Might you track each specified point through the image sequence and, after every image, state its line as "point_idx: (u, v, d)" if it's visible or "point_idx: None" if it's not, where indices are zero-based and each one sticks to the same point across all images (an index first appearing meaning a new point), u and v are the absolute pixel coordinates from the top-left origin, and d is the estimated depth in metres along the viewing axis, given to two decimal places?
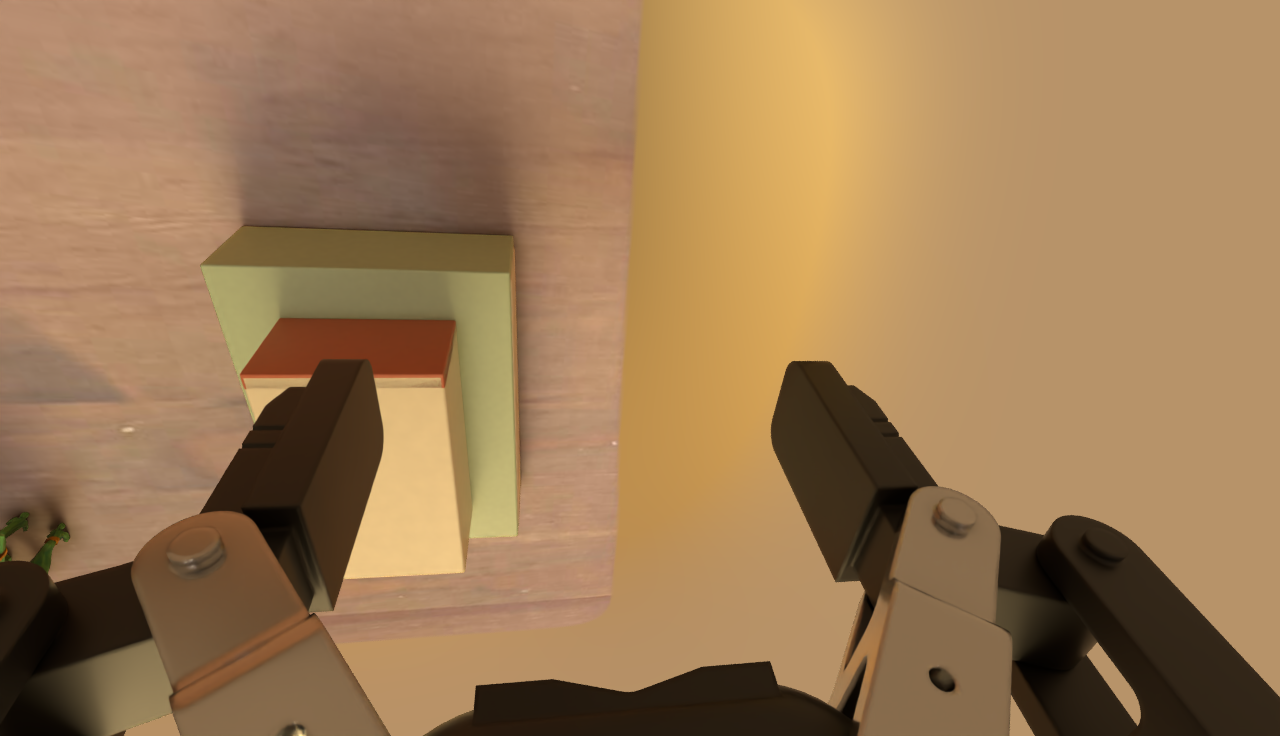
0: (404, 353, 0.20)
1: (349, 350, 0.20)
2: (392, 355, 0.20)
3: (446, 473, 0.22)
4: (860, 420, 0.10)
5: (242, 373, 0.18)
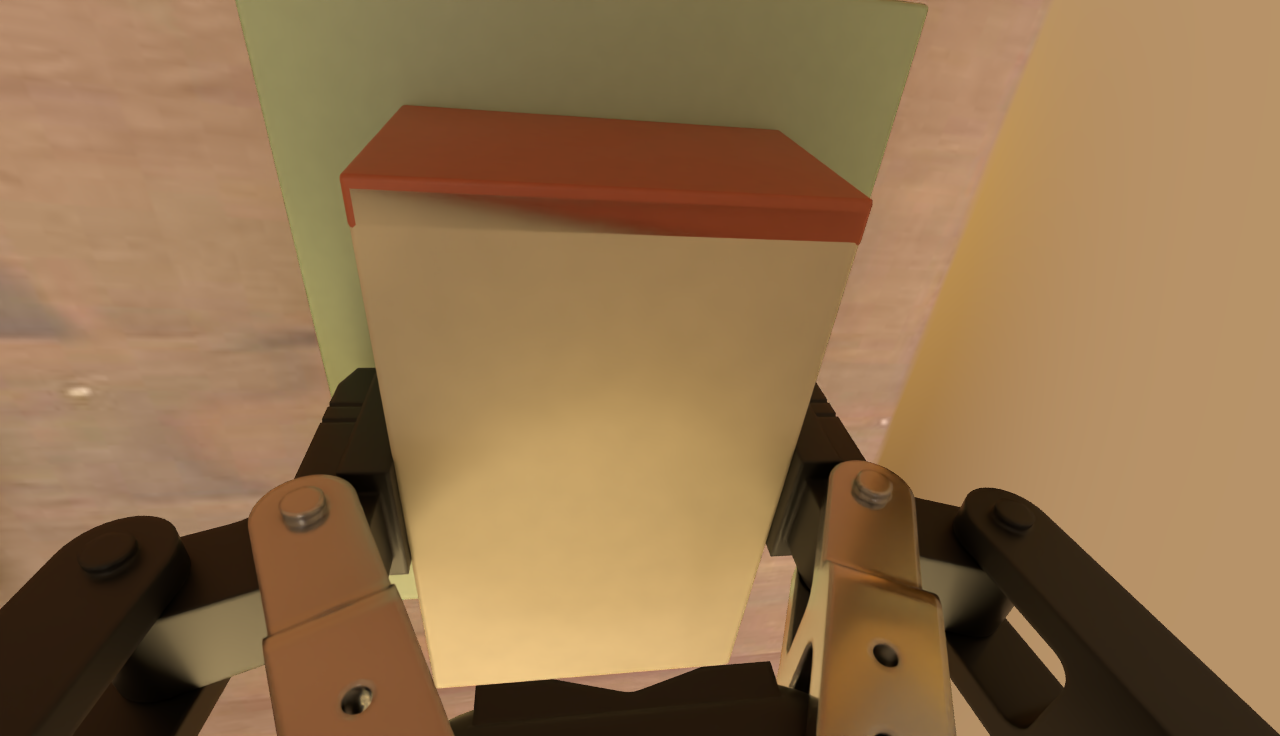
0: (736, 164, 0.08)
1: (601, 153, 0.08)
2: (708, 167, 0.08)
3: (775, 470, 0.10)
4: None
5: (347, 172, 0.06)
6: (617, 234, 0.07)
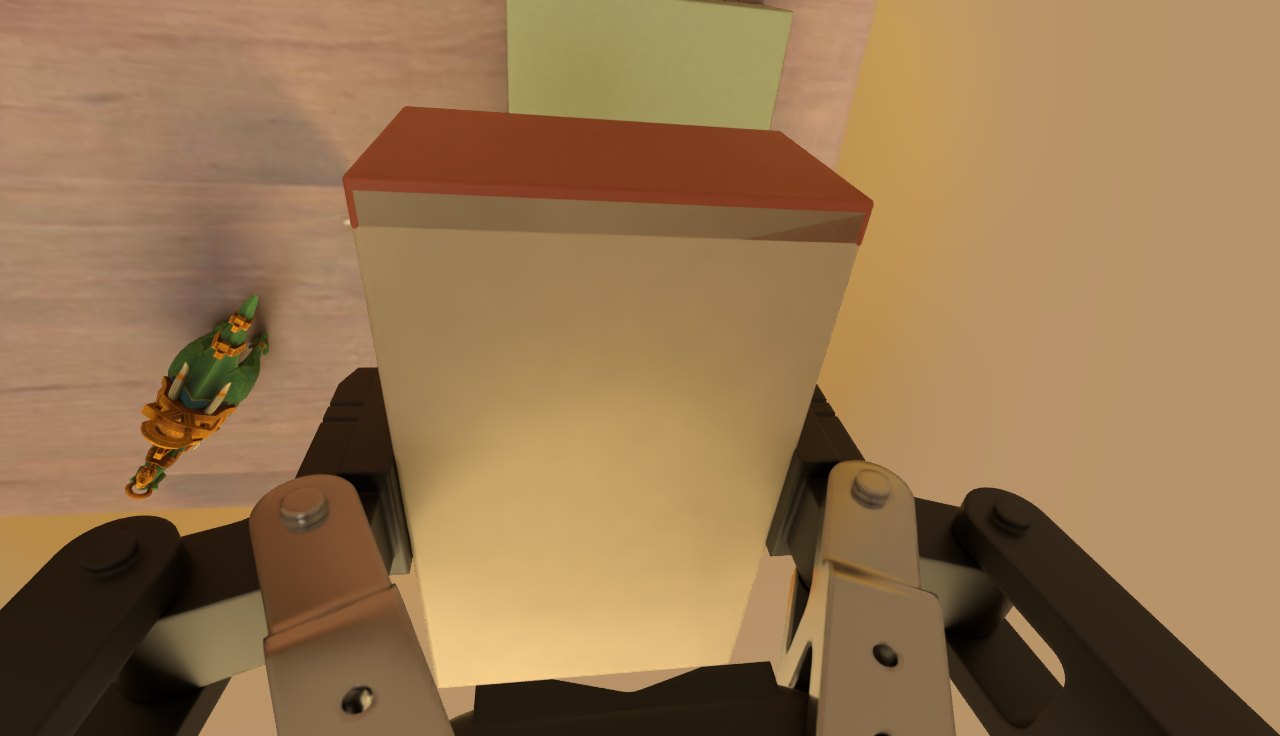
0: (737, 165, 0.08)
1: (603, 154, 0.08)
2: (709, 169, 0.08)
3: (776, 470, 0.10)
4: None
5: (350, 174, 0.06)
6: (619, 236, 0.07)
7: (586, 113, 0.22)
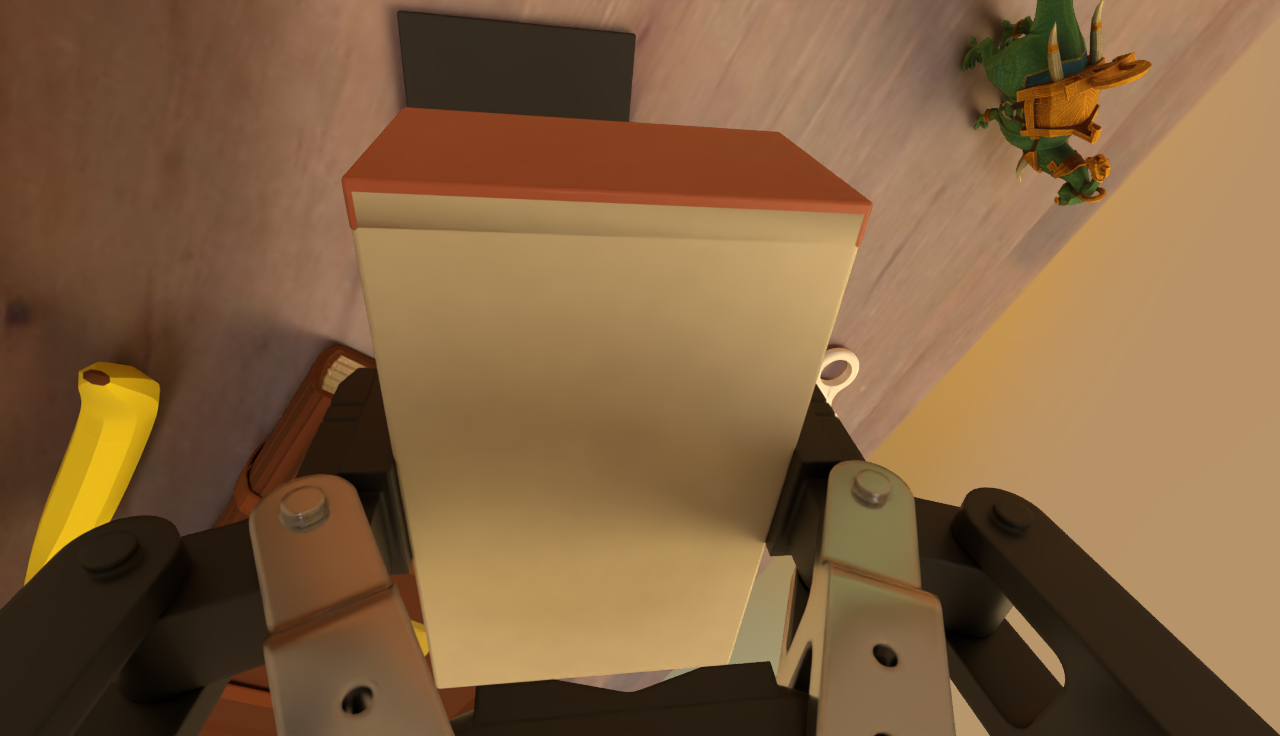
0: (736, 166, 0.08)
1: (602, 155, 0.08)
2: (708, 170, 0.08)
3: (775, 471, 0.10)
4: None
5: (349, 175, 0.06)
6: (617, 238, 0.07)
7: None
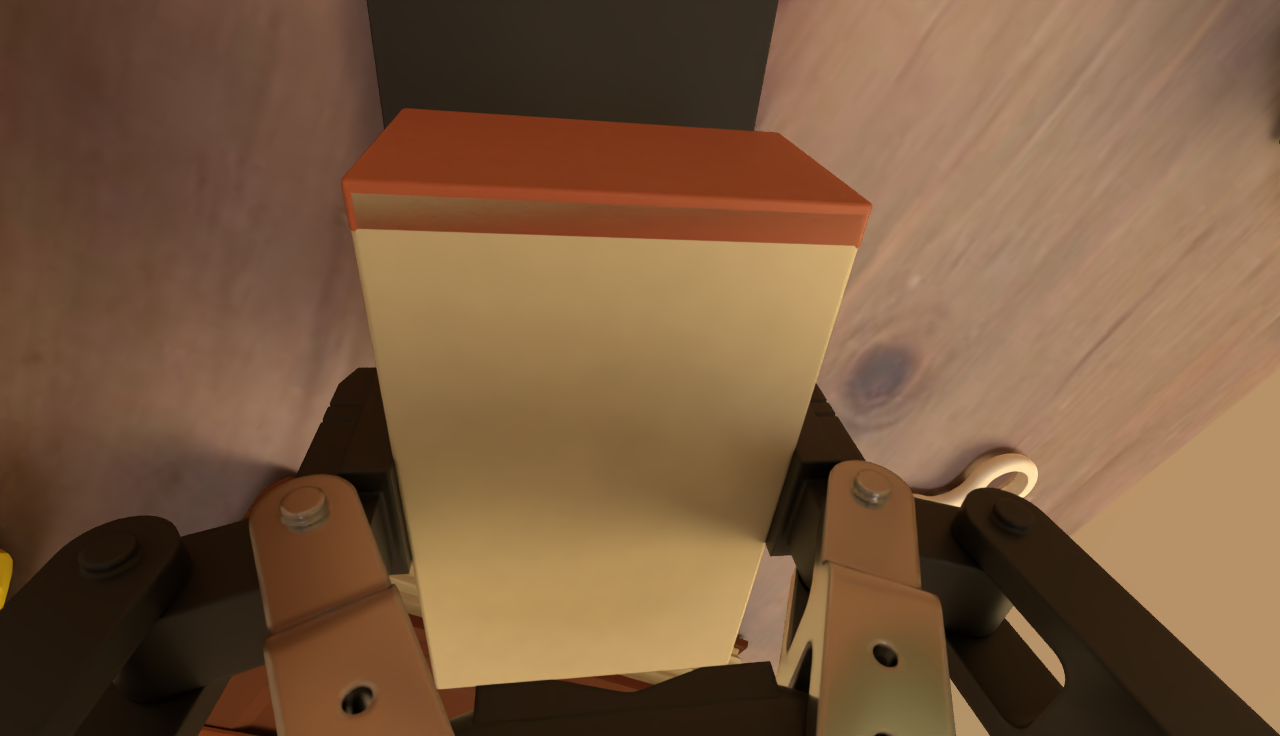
0: (736, 167, 0.08)
1: (602, 156, 0.08)
2: (708, 170, 0.08)
3: (774, 471, 0.10)
4: None
5: (349, 177, 0.06)
6: (617, 238, 0.07)
7: None
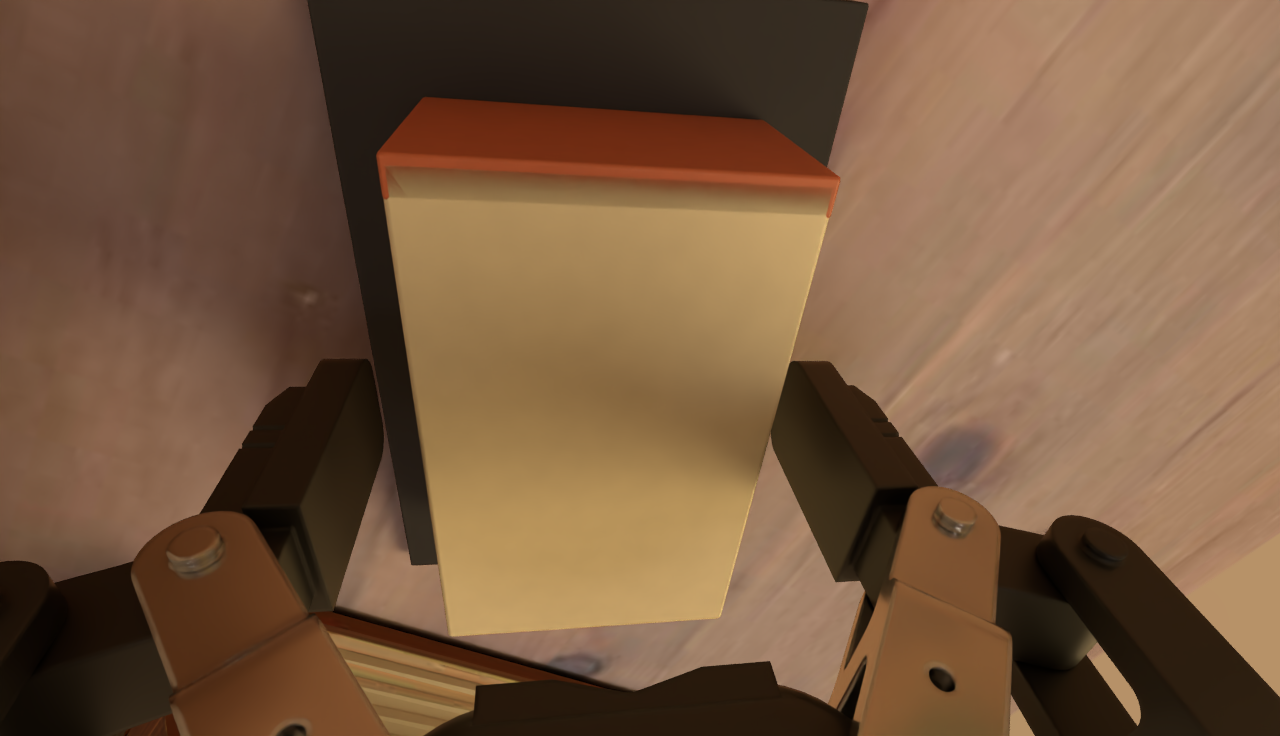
0: (721, 147, 0.09)
1: (602, 137, 0.09)
2: (696, 150, 0.09)
3: (759, 426, 0.11)
4: (860, 420, 0.10)
5: (383, 150, 0.07)
6: (615, 207, 0.08)
7: None
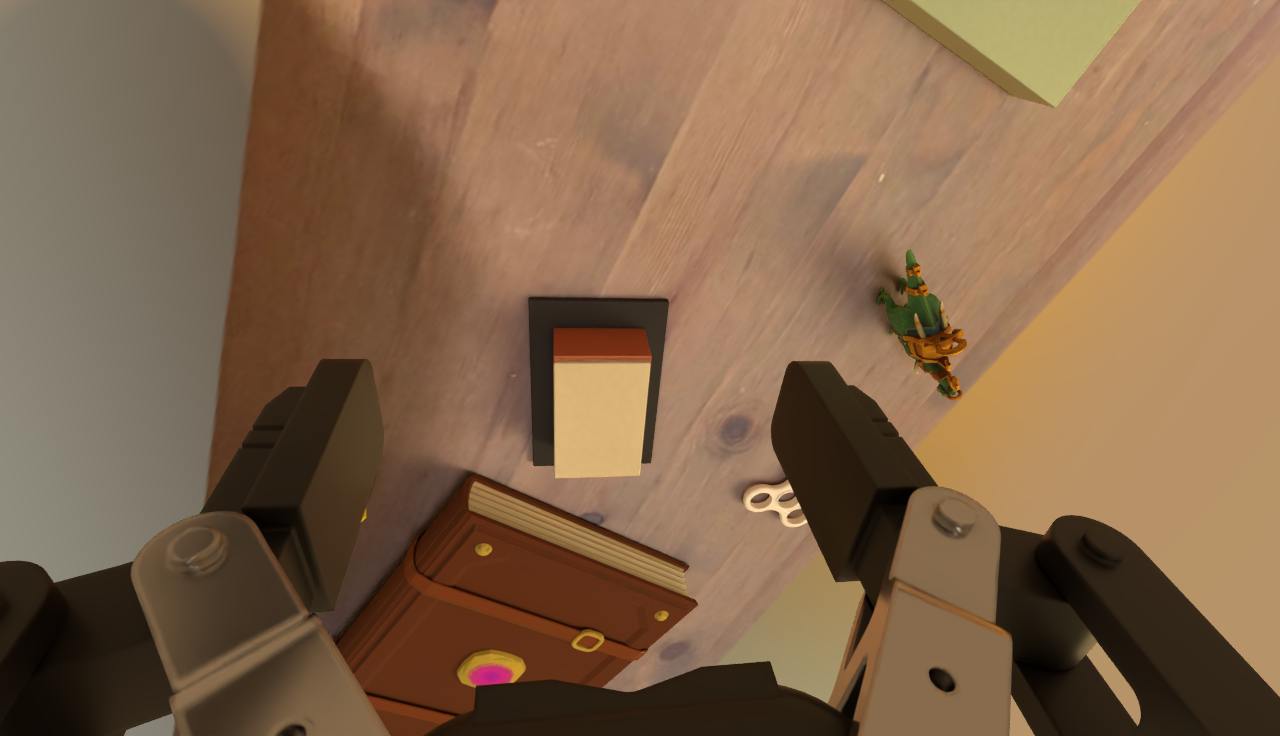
0: (627, 345, 0.38)
1: (599, 344, 0.38)
2: (621, 346, 0.38)
3: (642, 412, 0.39)
4: (860, 420, 0.10)
5: (554, 355, 0.36)
6: (601, 363, 0.37)
7: None
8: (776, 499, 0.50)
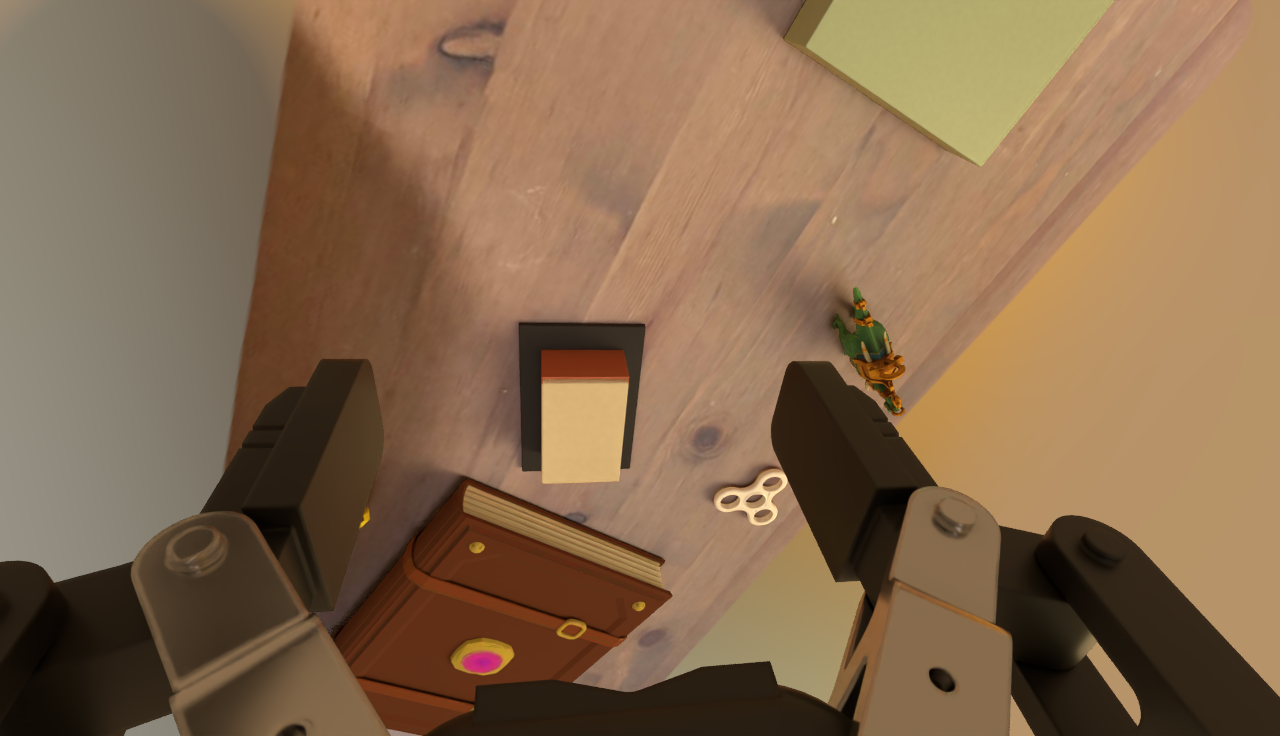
0: (607, 367, 0.42)
1: (582, 365, 0.42)
2: (602, 368, 0.42)
3: (620, 425, 0.44)
4: (860, 420, 0.10)
5: (542, 376, 0.41)
6: (584, 383, 0.41)
7: (894, 32, 0.32)
8: (744, 500, 0.55)
